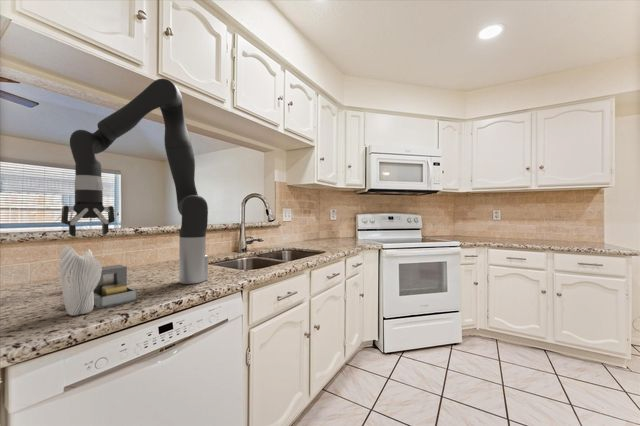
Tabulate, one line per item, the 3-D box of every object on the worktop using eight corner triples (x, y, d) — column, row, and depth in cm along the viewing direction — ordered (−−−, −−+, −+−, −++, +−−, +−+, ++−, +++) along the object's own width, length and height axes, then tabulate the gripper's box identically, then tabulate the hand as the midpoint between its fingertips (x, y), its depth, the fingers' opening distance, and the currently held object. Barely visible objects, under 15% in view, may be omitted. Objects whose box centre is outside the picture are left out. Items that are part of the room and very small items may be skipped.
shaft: (92, 280, 99) (92, 258, 99) (114, 290, 86) (114, 265, 86) (82, 282, 97) (82, 259, 97) (102, 293, 84) (102, 266, 84)
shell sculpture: (94, 305, 79) (94, 242, 79) (102, 312, 73) (102, 244, 73) (54, 313, 72) (54, 244, 72) (59, 321, 67) (60, 247, 67)
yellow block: (121, 283, 85) (126, 285, 83) (121, 296, 85) (126, 299, 83) (101, 287, 81) (106, 289, 79) (101, 300, 81) (106, 303, 79)
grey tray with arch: (120, 292, 91) (120, 264, 91) (137, 300, 83) (137, 269, 83) (85, 299, 84) (85, 268, 84) (100, 308, 76) (100, 274, 76)
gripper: (109, 190, 105) (110, 233, 105) (58, 188, 94) (59, 236, 94) (116, 189, 101) (117, 234, 101) (64, 187, 89) (65, 237, 89)
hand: (89, 235), depth 97 cm, fingers open, 8 cm apart
